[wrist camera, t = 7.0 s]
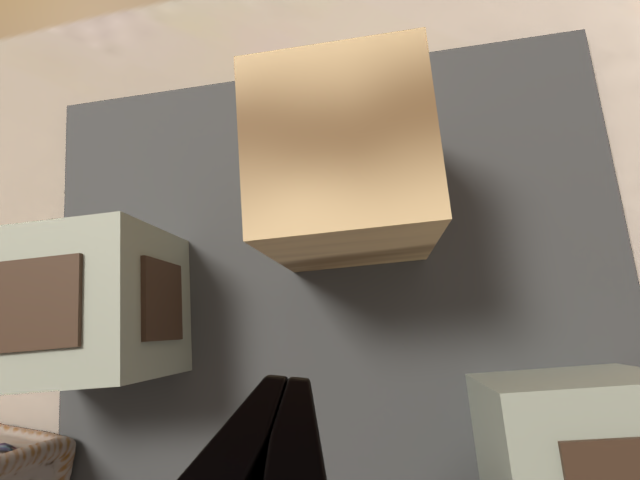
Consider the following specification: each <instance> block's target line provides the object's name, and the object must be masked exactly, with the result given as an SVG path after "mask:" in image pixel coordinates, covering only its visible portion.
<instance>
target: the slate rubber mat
mask: <svg viewBox="0 0 640 480" xmlns="http://www.w3.org/2000/svg"><path fill="white" fill-rule="evenodd" d="M429 57H430V64H431V71H432V79H433V86H434V93H435V100H436V107H437V114H438V121H439V129H440V136H441V143H442V150H443V157H444V164H445V171H446V179H447V186H448V193H449V200H450V207H451V214H452V220H451V222H450V223H449V225H448V226H447V228H446V229H445V231H444V233H443V234H442V236H441V237H440V239H439V240H438V242H437V244H436V245H435V247H434V248H433V250H432V251H431V253H430V254H429V256H428V258H427V259H426V260H416V261H405V262H395V263H385V264H375V265H365V266H355V267H344V268H334V269H324V270H314V271H304V272H292V271H291V270H289V269H287V268H286V267H284V266H282V265H281V264H279V263H278V262H276V261H274V260H273V259H271V258H269V257H268V256H266V255H265V254H263V253H261V252H260V251H258V250H256V249H255V248H253V247H251V246H250V245H248V244H247V243H245V242H243V228H242V208H241V189H240V169H239V149H238V130H237V110H236V90H235V81H232V82H225V83H218V84H212V85H205V86H198V87H191V88H185V89H178V90H171V91H164V92H158V93H151V94H144V95H137V96H131V97H124V98H117V99H110V100H104V101H97V102H90V103H83V104H77V105H70V106H67V123H66V164H65V204H64V218H66V217H74V216H82V215H91V214H99V213H108V212H116V211H121V212H124V213H126V214H128V215H130V216H133V217H135V218H137V219H139V220H142V221H144V222H146V223H149V224H151V225H153V226H155V227H158V228H160V229H162V230H164V231H167V232H169V233H171V234H173V235H176V236H178V237H180V238H183V239H185V240H187V241H189V272H190V307H191V343H192V370H191V371H187V372H182V373H178V374H173V375H169V376H164V377H160V378H156V379H151V380H147V381H142V382H138V383H133V384H129V385H125V386H120V387H107V388H93V389H80V390H66V391H60V406H59V435H62V436H67V437H70V438H72V439H74V441H75V442H76V448H75V457H74V461H73V466H72V473H71V477H70V480H177V479H178V478H179V476H180V475H181V474H182V473H183V472H184V471H185V469H186V468H187V467H188V466H189V465H190V464H191V462H192V461H193V460H194V459H195V458H196V456H197V455H198V454H199V453H200V452H201V451H202V449H203V448H204V447H205V446H206V445H207V444H208V442H209V441H210V440H211V439H212V438H213V437H214V435H215V434H216V433H217V432H218V431H219V430H220V428H221V427H222V426H223V425H224V424H225V423H226V421H227V420H228V419H229V418H230V417H231V416H232V414H233V413H234V412H235V411H236V410H237V409H238V407H239V406H240V405H241V404H242V403H243V402H244V400H245V399H246V398H247V397H248V396H249V395H250V393H251V392H252V391H253V390H254V389H255V387H256V386H257V385H258V384H259V383H260V382H261V380H262V379H263V378H264V377H265V376H267V375H281V376H286V377H287V378H288V379H289V378H290V377H302V378H308V379H309V380H310V382H311V387H312V393H313V399H314V405H315V411H316V417H317V423H318V429H319V434H320V440H321V446H322V452H323V458H324V464H325V470H326V476H327V480H480V479H479V471H478V464H477V457H476V449H475V442H474V435H473V427H472V420H471V413H470V406H469V398H468V391H467V384H466V376H465V374H471V373H485V372H499V371H514V370H528V369H542V368H556V367H570V366H585V365H599V364H613V363H617V364H624V365H630V366H637V367H640V286H639V282H638V277H637V272H636V268H635V263H634V258H633V254H632V249H631V244H630V239H629V235H628V230H627V225H626V221H625V216H624V211H623V207H622V202H621V197H620V193H619V188H618V183H617V179H616V174H615V169H614V164H613V160H612V155H611V150H610V146H609V141H608V136H607V132H606V127H605V122H604V118H603V113H602V108H601V104H600V99H599V94H598V90H597V85H596V80H595V75H594V71H593V66H592V61H591V57H590V52H589V47H588V43H587V38H586V33H585V29H583V30H576V31H570V32H563V33H556V34H549V35H543V36H536V37H529V38H522V39H516V40H509V41H502V42H495V43H489V44H482V45H475V46H468V47H462V48H455V49H448V50H441V51H435V52H429Z"/></svg>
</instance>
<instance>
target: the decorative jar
mask: <svg viewBox="0 0 640 480" xmlns="http://www.w3.org/2000/svg"><path fill="white" fill-rule="evenodd" d="M75 448H76V442H75V441H74V439H72V438H70V437H67V436H62V435H58V434H55V433H50V432H46V431H39V430H33V429H27V428H21V427H15V426H9V425H4V424H0V480H70V477H71V473H72V466H73V461H74V457H75Z"/></svg>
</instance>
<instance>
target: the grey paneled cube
mask: <svg viewBox="0 0 640 480" xmlns="http://www.w3.org/2000/svg"><path fill="white" fill-rule="evenodd" d="M465 376H466V384H467V391H468V398H469V406H470V413H471V420H472V427H473V435H474V442H475V449H476V457H477V464H478V471H479V479H480V480H640V367H637V366H630V365H624V364H617V363H613V364H599V365H585V366H570V367H556V368H542V369H528V370H514V371H499V372H485V373H471V374H465Z"/></svg>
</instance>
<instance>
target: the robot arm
mask: <svg viewBox="0 0 640 480" xmlns="http://www.w3.org/2000/svg"><path fill="white" fill-rule="evenodd" d="M177 480H327V476H326V470H325V464H324V458H323V452H322V446H321V440H320V434H319V429H318V423H317V417H316V411H315V405H314V399H313V393H312V387H311V382H310V380H309V379H308V378H302V377H290V378H289V379H288V378H287V377H286V376H281V375H267V376H265V377H264V378H263V379H262V380H261V382H260V383H259V384H258V385H257V386H256V387H255V389H254V390H253V391H252V392H251V393H250V395H249V396H248V397H247V398H246V399H245V400H244V402H243V403H242V404H241V405H240V406H239V407H238V409H237V410H236V411H235V412H234V413H233V414H232V416H231V417H230V418H229V419H228V420H227V421H226V423H225V424H224V425H223V426H222V427H221V428H220V430H219V431H218V432H217V433H216V434H215V435H214V437H213V438H212V439H211V440H210V441H209V442H208V444H207V445H206V446H205V447H204V448H203V449H202V451H201V452H200V453H199V454H198V455H197V456H196V458H195V459H194V460H193V461H192V462H191V464H190V465H189V466H188V467H187V468H186V469H185V471H184V472H183V473H182V474H181V475H180V476H179V478H178V479H177Z"/></svg>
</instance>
